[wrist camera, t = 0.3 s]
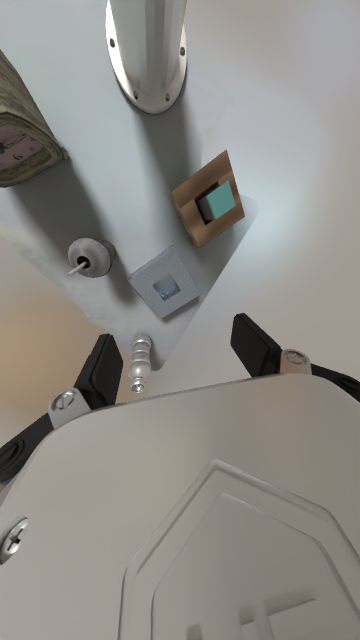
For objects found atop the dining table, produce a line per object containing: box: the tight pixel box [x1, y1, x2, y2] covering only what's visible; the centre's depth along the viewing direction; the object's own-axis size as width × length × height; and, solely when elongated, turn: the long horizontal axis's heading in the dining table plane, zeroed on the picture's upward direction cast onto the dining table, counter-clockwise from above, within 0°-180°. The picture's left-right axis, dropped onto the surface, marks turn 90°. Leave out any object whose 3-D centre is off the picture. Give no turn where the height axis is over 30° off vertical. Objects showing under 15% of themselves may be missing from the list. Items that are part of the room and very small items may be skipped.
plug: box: [195, 181, 236, 221], centre depth 32 cm, size 4×4×11 cm
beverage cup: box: [67, 237, 116, 278], centre depth 30 cm, size 7×7×20 cm
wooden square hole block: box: [170, 150, 245, 247], centre depth 34 cm, size 12×12×6 cm
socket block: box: [128, 246, 201, 319], centre depth 43 cm, size 14×14×6 cm
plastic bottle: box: [128, 334, 151, 392], centre depth 47 cm, size 6×7×20 cm
